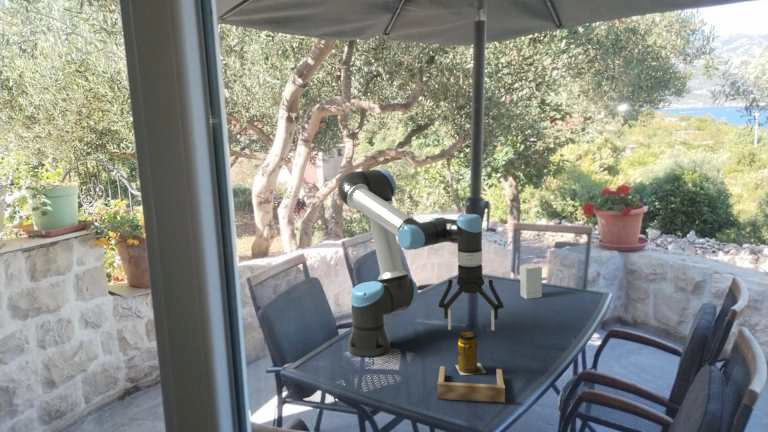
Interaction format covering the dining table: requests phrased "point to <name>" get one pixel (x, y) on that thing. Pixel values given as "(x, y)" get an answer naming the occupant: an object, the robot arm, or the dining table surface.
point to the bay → (471, 389)
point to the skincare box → (531, 281)
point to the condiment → (468, 355)
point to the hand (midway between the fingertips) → (471, 328)
